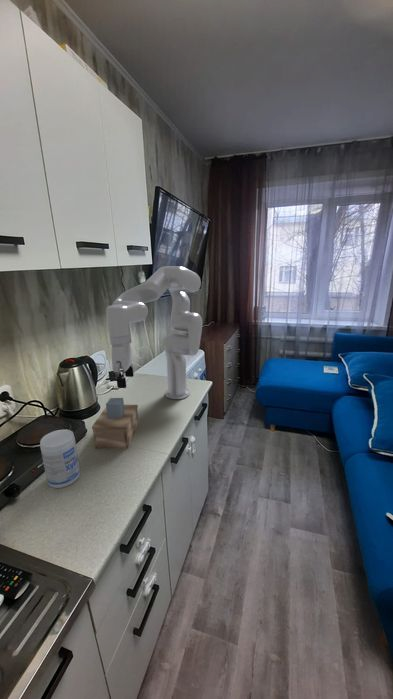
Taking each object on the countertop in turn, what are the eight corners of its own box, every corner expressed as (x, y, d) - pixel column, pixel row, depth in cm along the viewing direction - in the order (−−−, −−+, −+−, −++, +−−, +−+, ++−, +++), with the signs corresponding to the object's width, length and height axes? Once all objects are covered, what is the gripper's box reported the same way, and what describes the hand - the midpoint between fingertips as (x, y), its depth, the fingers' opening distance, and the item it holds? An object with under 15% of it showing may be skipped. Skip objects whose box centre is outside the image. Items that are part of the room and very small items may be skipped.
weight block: (111, 411, 111) (110, 397, 109) (124, 411, 111) (123, 397, 109) (107, 418, 106) (105, 404, 104) (120, 418, 106) (119, 404, 104)
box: (110, 424, 119) (108, 407, 117) (138, 424, 118) (137, 407, 116) (95, 448, 104) (92, 429, 101) (127, 448, 103) (125, 429, 101)
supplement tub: (75, 487, 86) (68, 446, 81) (42, 491, 84) (33, 449, 80) (83, 465, 95) (77, 427, 90) (53, 468, 94) (46, 430, 89)
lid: (108, 406, 117) (107, 404, 117) (137, 406, 116) (137, 404, 116) (92, 428, 101) (91, 426, 101) (126, 429, 101) (126, 427, 100)
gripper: (118, 332, 111) (123, 372, 117) (101, 347, 95) (108, 392, 100) (136, 332, 111) (141, 372, 116) (123, 346, 94) (129, 392, 100)
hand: (126, 381), depth 108 cm, fingers open, 9 cm apart
